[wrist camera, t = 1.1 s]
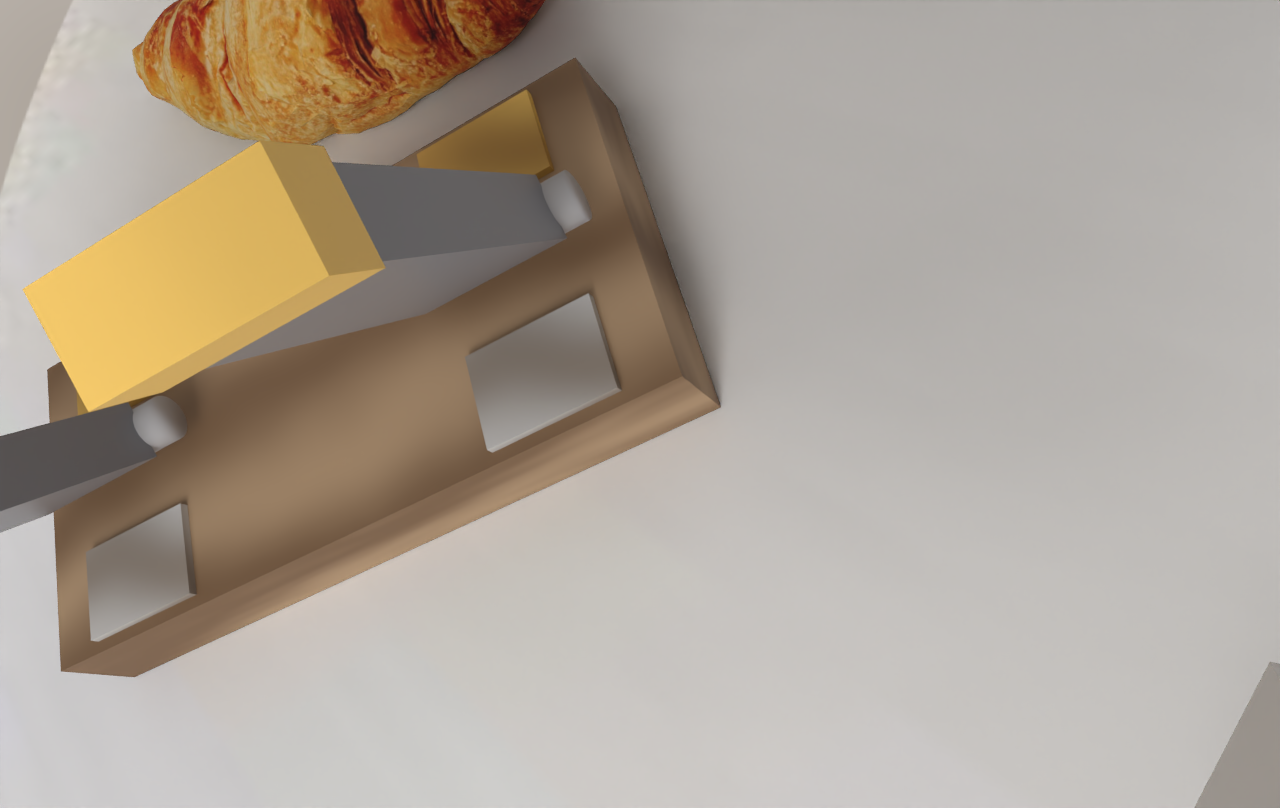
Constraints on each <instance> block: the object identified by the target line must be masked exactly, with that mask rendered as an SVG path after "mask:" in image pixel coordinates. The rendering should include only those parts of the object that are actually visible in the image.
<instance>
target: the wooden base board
mask: <svg viewBox="0 0 1280 808" xmlns="http://www.w3.org/2000/svg"><path fill="white" fill-rule="evenodd" d="M393 166H400V167H417V168H433V169H450V170H466V171H482V172H499V173H515V174H531V175H536V176H537V178H538V180H539V182H540V183H542V182H544V181H545V180H547V179H549V178H551V177H553V176H554V175H556V174H558V173H560V172H562V171H563V170H567V171H568V172H569V173H571V175H572V176H573V177H574V178H575V179H576V181H577V182H578V184H579V185H580V187H581V188H582V190H583V192H584V194H585V196H586V198H587V200H588V203H589V206H590V209H591V213H592V219H591V220H590V221H588V222H586V223H584V224H582V225H580V226H578V227H577V228H575V229H573V230H571V231H569V232H567V233H565V234H566V236H567V239H565V240H563V241H561V242H559V243H557V244H555V245H554V246H552V247H550V248H548V249H546V250H544V251H542V252H540V253H539V254H537V255H535V256H533V257H531V258H529V259H527V260H526V261H524V262H522V263H520V264H518V265H516V266H514V267H512V268H511V269H509V270H507V271H505V272H503V273H501V274H499V275H498V276H496V277H494V278H492V279H490V280H488V281H486V282H484V283H483V284H481V285H479V286H477V287H475V288H473V289H471V290H470V291H468V292H466V293H464V294H462V295H460V296H458V297H456V298H455V299H453V300H451V301H449V302H447V303H445V304H443V305H442V306H440V307H438V308H436V309H434V310H432V311H430V312H428V313H427V314H423V315H419V316H415V317H411V318H407V319H403V320H399V321H395V322H391V323H387V324H383V325H379V326H375V327H371V328H367V329H363V330H359V331H355V332H351V333H347V334H343V335H339V336H335V337H331V338H327V339H323V340H319V341H315V342H311V343H307V344H303V345H299V346H295V347H291V348H287V349H283V350H279V351H275V352H271V353H267V354H263V355H259V356H255V357H251V358H247V359H243V360H239V361H235V362H231V363H227V364H223V365H219V366H215V367H211V368H207V369H204V370H202V371H200V372H198V373H197V374H195V375H193V376H191V377H189V378H188V379H186V380H184V381H182V382H180V383H179V384H177V385H175V386H173V387H172V388H170V389H168V390H166V391H164V392H162V393H158V394H155V395H151V396H147V397H143V398H140V399H136V400H132V401H128V403H129V405H130V407H131V408H132V409H134V408H136V407H137V406H139V405H141V404H143V403H145V402H146V401H148V400H150V399H152V398H154V397H156V396H165V397H168V398H170V399H171V400H173V401H174V402H175V403H176V404H177V405H178V406H179V407H180V408H181V410H182V411H183V413H184V415H185V417H186V421H187V432H186V434H185V436H184V437H183V438H181V439H179V440H177V441H176V442H174V443H172V444H170V445H168V446H166V447H164V448H163V449H161V450H159V451H157V452H155V453H156V455H157V457H155V458H153V459H151V460H149V461H147V462H146V463H144V464H142V465H140V466H138V467H136V468H134V469H133V470H131V471H129V472H127V473H125V474H123V475H121V476H119V477H118V478H116V479H114V480H112V481H110V482H108V483H106V484H105V485H103V486H101V487H99V488H97V489H95V490H93V491H92V492H90V493H88V494H86V495H84V496H82V497H80V498H78V499H77V500H75V501H73V502H71V503H69V504H67V505H65V506H64V507H62V508H60V509H58V510H56V511H54V527H55V549H56V572H57V594H58V616H59V638H60V660H61V671H64V672H76V673H89V674H101V675H113V676H126V677H136V676H138V675H140V674H142V673H144V672H146V671H149V670H151V669H153V668H155V667H157V666H159V665H162V664H164V663H166V662H168V661H170V660H173V659H175V658H177V657H179V656H181V655H183V654H186V653H188V652H190V651H192V650H194V649H196V648H199V647H201V646H203V645H205V644H207V643H209V642H212V641H214V640H216V639H218V638H220V637H222V636H225V635H227V634H229V633H231V632H233V631H236V630H238V629H240V628H242V627H244V626H246V625H249V624H251V623H253V622H255V621H257V620H259V619H262V618H264V617H266V616H268V615H270V614H272V613H275V612H277V611H279V610H281V609H283V608H285V607H288V606H290V605H292V604H294V603H296V602H299V601H301V600H303V599H305V598H307V597H309V596H312V595H314V594H316V593H318V592H320V591H322V590H325V589H327V588H329V587H331V586H333V585H335V584H338V583H340V582H342V581H344V580H346V579H348V578H351V577H353V576H355V575H357V574H359V573H362V572H364V571H366V570H368V569H370V568H372V567H375V566H377V565H379V564H381V563H383V562H385V561H388V560H390V559H392V558H394V557H396V556H398V555H401V554H403V553H405V552H407V551H409V550H412V549H414V548H416V547H418V546H420V545H422V544H425V543H427V542H429V541H431V540H433V539H435V538H438V537H440V536H442V535H444V534H446V533H448V532H451V531H453V530H455V529H457V528H459V527H461V526H464V525H466V524H468V523H470V522H472V521H475V520H477V519H479V518H481V517H483V516H485V515H488V514H490V513H492V512H494V511H496V510H498V509H501V508H503V507H505V506H507V505H509V504H511V503H514V502H516V501H518V500H520V499H522V498H524V497H527V496H529V495H531V494H533V493H535V492H538V491H540V490H542V489H544V488H546V487H548V486H551V485H553V484H555V483H557V482H559V481H561V480H564V479H566V478H568V477H570V476H572V475H574V474H577V473H579V472H581V471H583V470H585V469H587V468H590V467H592V466H594V465H596V464H598V463H601V462H603V461H605V460H607V459H609V458H611V457H614V456H616V455H618V454H620V453H622V452H624V451H627V450H629V449H631V448H633V447H635V446H637V445H640V444H642V443H644V442H646V441H648V440H650V439H653V438H655V437H657V436H659V435H661V434H664V433H666V432H668V431H670V430H672V429H674V428H677V427H679V426H681V425H683V424H685V423H687V422H690V421H692V420H694V419H696V418H698V417H700V416H703V415H705V414H707V413H709V412H711V411H714V410H716V409H718V408H720V407H721V406H720V403H719V401H718V398H717V395H716V392H715V389H714V386H713V383H712V380H711V378H710V375H709V372H708V369H707V366H706V363H705V360H704V358H703V355H702V352H701V349H700V346H699V343H698V340H697V337H696V335H695V332H694V329H693V326H692V323H691V320H690V317H689V315H688V312H687V309H686V306H685V303H684V300H683V297H682V294H681V292H680V289H679V286H678V283H677V280H676V277H675V274H674V272H673V269H672V266H671V263H670V260H669V257H668V254H667V251H666V249H665V246H664V243H663V240H662V237H661V234H660V231H659V229H658V226H657V223H656V220H655V217H654V214H653V211H652V208H651V206H650V203H649V200H648V197H647V194H646V191H645V188H644V186H643V183H642V180H641V177H640V174H639V171H638V168H637V165H636V163H635V160H634V157H633V154H632V151H631V148H630V145H629V143H628V140H627V137H626V134H625V131H624V128H623V125H622V123H621V120H620V117H619V114H618V111H617V108H616V106H615V105H614V104H613V102H612V101H611V100H610V99H609V98H608V96H607V95H606V94H605V93H604V92H603V90H602V89H601V88H600V87H599V86H598V84H597V83H596V82H595V81H594V80H593V78H592V77H591V76H590V75H589V74H588V72H587V71H586V70H585V69H584V68H583V66H582V65H581V64H580V63H579V62H578V60H577V59H576V58H573V59H572V60H570V61H568V62H567V63H565V64H563V65H562V66H560V67H558V68H557V69H555V70H553V71H551V72H550V73H548V74H546V75H545V76H543V77H541V78H540V79H538V80H536V81H535V82H533V83H531V84H530V85H528V86H526V87H524V88H523V89H521V90H519V91H518V92H516V93H514V94H513V95H511V96H509V97H508V98H506V99H504V100H502V101H501V102H499V103H497V104H496V105H494V106H492V107H491V108H489V109H487V110H486V111H484V112H482V113H480V114H479V115H477V116H475V117H474V118H472V119H470V120H469V121H467V122H465V123H464V124H462V125H460V126H458V127H457V128H455V129H453V130H452V131H450V132H448V133H447V134H445V135H443V136H442V137H440V138H438V139H436V140H435V141H433V142H431V143H430V144H428V145H426V146H425V147H423V148H421V149H420V150H418V151H416V152H414V153H413V154H411V155H409V156H408V157H406V158H404V159H403V160H401V161H399V162H398V163H396V164H394V165H393ZM47 372H48V395H49V417H50V423H52V422H56V421H59V420H63V419H67V418H71V417H74V416H78V415H82V414H86V413H89V412H88V410H87V408H86V406H85V405H84V403H83V401H82V399H81V397H80V395H79V393H78V392H77V390H76V388H75V386H74V384H73V382H72V380H71V378H70V377H69V375H68V373H67V371H66V369H65V367H64V365H63V364H62V362H59V363H58V364H56V365H54V366H53V367H51V368H49V369H47ZM125 403H127V402H125ZM121 404H123V403H121ZM117 405H119V404H117ZM113 406H115V405H113ZM110 407H112V406H110ZM106 408H108V407H106ZM102 409H104V408H102ZM98 410H101V409H98ZM95 411H97V410H95ZM91 412H93V411H91Z"/></svg>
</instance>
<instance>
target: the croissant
mask: <svg viewBox="0 0 1280 808" xmlns="http://www.w3.org/2000/svg"><path fill="white" fill-rule="evenodd" d="M545 1H546V0H178V1H176V2H174V3H173V4H172V5H170V6H169V7H168V8H166V9H165V10H164V11H163V12H162V14H161V15H160V16H159V17H158V19H157V20H156V22H155V23H154V24H153V26H152V27H151V29H150V30H149V32H148V33H147V35H146V36H145V39H144V42H142V43H141V44H139V45H138V46H137V47H135V48H134V49H133V50H132V52H133V58H134V63H135V67H136V72H137V74H138V75H139V77H140V78H141V79H142V80H143V82H144V84H145V86H146V88H147V89H148V91H149V92H150V93H151V94H152V96H155V97H157V98H159V99H161V100H164V101H166V102H168V103H170V104H172V105H174V106H175V107H177V108H179V109H180V110H182V111H183V112H184V113H185V114H187V115H188V116H189V117H190V118H193V119H194V120H195V121H196V122H198V123H199V124H200V125H202V126H204V127H206V128H209V129H211V130H214V131H218V132H220V133H222V134H225V135H228V136H232V137H235V138H239V139H249V140H257V141H259V140H261V141H273V142H284V143H295V144H307V145H311V144H313V143H315V142H317V141H319V140H321V139H323V138H325V137H327V136H329V135H331V134H334V133H337V134H351V133H361V132H362V131H364V130H367V129H370V128H372V127H375V126H378V125H381V124H383V123H386V122H388V121H391V120H393V119H394V118H395V117H397V116H398V115H400V114H402V113H403V112H405V111H407V110H408V109H409V108H410V107H411V106H412V105H413V104H414V103H415V102H416V101H418V100H419V99H421V98H423V97H424V96H426V95H428V94H430V93H432V92H434V91H436V90H437V89H439V88H441V87H442V86H443V85H444V84H446V83H447V82H448V81H450V80H451V79H452V78H453V77H455V76H456V75H458V74H461V73H463V72H465V71H467V70H468V69H470V68H472V67H473V66H475V65H476V64H478V63H479V62H480V61H482V60H483V59H484V58H489V57H490V56H492V55H494V54H495V53H497V52H498V51H500V50H501V49H503V48H504V47H506V46H507V45H508V44H509V43H510V42H512V41H513V40H514V39H515V38H516V37H517V36H518V35H519V34H520V33H521V31H522V30H523V29H524V27H525V26H526V25H527V23H528V22H529V21H530V20H531V19H532V18H533V17H534V15H535V14H536V13H537V11H538V10H539V9H540V7H541V6H542V4H543V3H544V2H545Z"/></svg>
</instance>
